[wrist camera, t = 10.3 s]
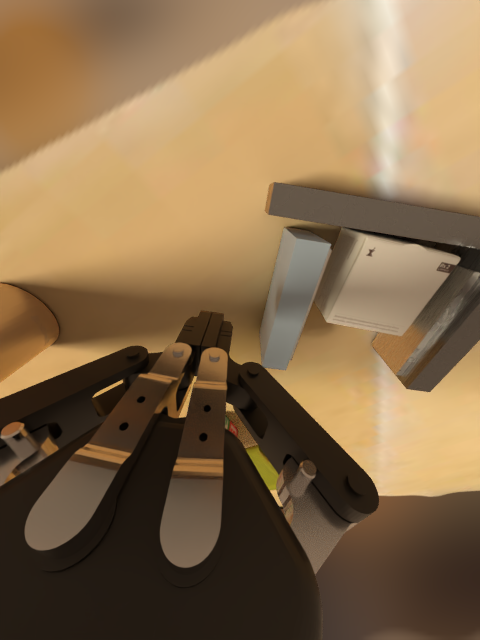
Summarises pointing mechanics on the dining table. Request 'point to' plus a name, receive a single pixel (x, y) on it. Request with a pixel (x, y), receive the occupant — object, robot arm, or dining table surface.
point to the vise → (445, 305)
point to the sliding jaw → (291, 294)
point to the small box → (380, 281)
